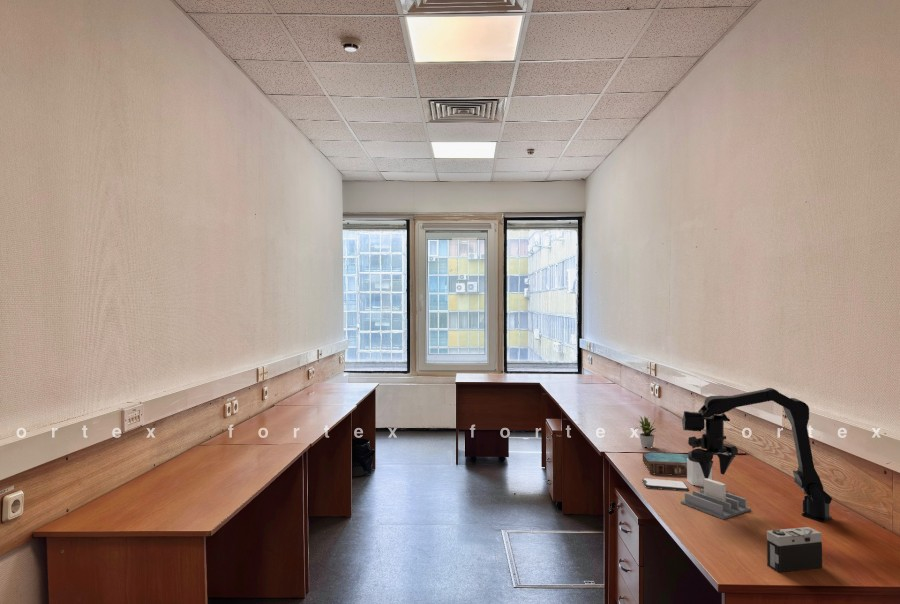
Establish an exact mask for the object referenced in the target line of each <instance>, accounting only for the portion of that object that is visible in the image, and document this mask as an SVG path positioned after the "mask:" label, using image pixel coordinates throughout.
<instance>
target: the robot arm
mask: <svg viewBox="0 0 900 604" xmlns="http://www.w3.org/2000/svg"><path fill="white" fill-rule="evenodd" d="M703 402H704V404H703V405H702V407H700V409H699V410H698V412H697V411H696V412H695V411H687V410H684V411H683V415H682V419H681V422H682V429H683V431H686V432H687V431H689V432H702V431H703V430H704V429H705V433H703V434H702V436H701V437H696V436H690V437H688V441H687V442H688V443H687V444H688V445H689V446H690V447H692V450H690V451H691V457H692V458H694V459H695V460H697V461H698V462H699V464H700V466H701V468H702V471H703V474H704V477H705V478H707V479H708V477H709V475H710V471H711V468H712V467H713V464H714V460H713V459H714V456H717V457H718V459H719V460H718V461H719V472H720V474H721V475H723V476H724V475H725V473H726V472H727V470H728V468H729V467H730V465H731V463H732V462H733V460H734V458H736V456H737V455H738V454H739V453H738V452H739V449H738V448H737V446H736V445H732V444H729V443H724V441H725V440H727V436H726V435H724V434H725V433H724V432H725V431H724V427H725V426H724V422H730V421H731V419H730V418H729V417H728V416H727V415H726V413H727V412H730V411H731V410H733V409H735V408H736V409H737V408H739V407H746V406H749V405H755V404H762V403H766V402H774V403H776V404H778V405H779V406H781V407H782V409H783V410H784V413H785V416H786V418H787V420H788V421H789V424H790V426H791V429H792V430H791V431H792V436H793V441H794V447H795V453H796V458H797V459H796V460H797V464H798V467H797V470H792V474H793V476H794V480H793V482H794V483H795V484H796V485H797V487H799V488H800V489H801V490H802V492H803V494H804V496H803V498H804V499H802V513H801V515H802V516H804V517H807V518H809V519H811V520H815V521H819V522H823V523H824V522H826V521H829V520H831V519H833V516H831V515H830V504H831V503H832V501H833V497H832V496H830V495H829V494H828V493H827V492H826V490H825V489H824V486H823V483H822V480H821V477H820V476H819V474H818V472H817V470H816V468H815V464H814V463H815V462H814V459H813V453H812V448H811V447H812V446H811V442H810V437H809V436H810V435H809V429H808V423H809V420H810V407H809V405H808V404H807V403H805V402H804V401H802V400H800V399H798V398H795V397H789V396H787V395H785V394H782V393H781V392H779V391H778V390H777V389H775V388H772V387H767V388H764V389H760V390H754V391H750V392H743V393H739V394H734V395H710V396H709V395H708V396H707V397H706V398H705V399H704V401H703Z"/></svg>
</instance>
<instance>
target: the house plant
mask: <svg viewBox="0 0 900 604" xmlns="http://www.w3.org/2000/svg"><path fill="white" fill-rule="evenodd" d="M639 417H640V420H641V421H640V420H639V419H637V418H634V417H631V418H634V420H636V421H638V423H639V424H640V425H639V427H637V426H635V425H634V427H635V428H634V430H637V429H638V430H642V431H641V433H639V438H640V439H639V440H640V445H641V447H642V446H643V447H647V448H646V449H652V448H651V447H654V440H655V434H653V433H654V432H657V431H658V432H659V430H657V428H656V426H655V425H654V424H657V422H658V421H656V420H654V421H653V422H652V424H651V421H649V416H648V417H646V415H644V417H642V416H641V415H639ZM643 418H644V419H643ZM643 447H642V448H643Z"/></svg>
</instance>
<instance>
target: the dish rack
mask: <svg viewBox="0 0 900 604" xmlns="http://www.w3.org/2000/svg"><path fill="white" fill-rule="evenodd" d="M699 490H700V491H699V492H698V491H696V490H692V494H691V493H687V492H685V493H684V500H680V504H681V503H683V504H682V505H684V504H686V505H688V506H687V507H689V506H691V507H690V508H692V507H694V508H696V509H695V510H697V509H699V510H701V511H700V512H702V511H703V512H702V513H705V512H706V513H705V514H707V513H709V514H708V515H710V514H711V515H710V516H712V515H714V516H713V517H715V516H716V517H715V518H718V517H719V518H718V519H720V518H721V520H726V519H729V518H731V517H734V516H735V517H736V516H738V515H741V514H744V513H747V512H750V511H752V508H751V507H749V506H747V498H746V497H745V498H744V497H741V496H739V495H735V494H732V493H729V492H726V502H725V501H722V500H719V499H716V498H714V497H711V496H708V495H705V494H704V488H700V489H699ZM686 505H685V506H686ZM694 508H693V509H694ZM699 510H698V511H699Z"/></svg>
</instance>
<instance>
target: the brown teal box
mask: <svg viewBox="0 0 900 604" xmlns="http://www.w3.org/2000/svg"><path fill="white" fill-rule="evenodd" d="M641 454H642V463H643V462H644V463H643V465H644V464H645V465H646V466H647V467H646V466H645V465H644V466H645V467H646V469H647V468H648V469H649V470H648V469H647V470H648V472H649V471H650V472H649V474H650V473H655V474H654V475H660V474H672V475H671V476H678V475H687V458H688V453H673V452H672V453H671V452H669V453H667V452H650V451H649V452H647V451H641Z"/></svg>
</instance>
